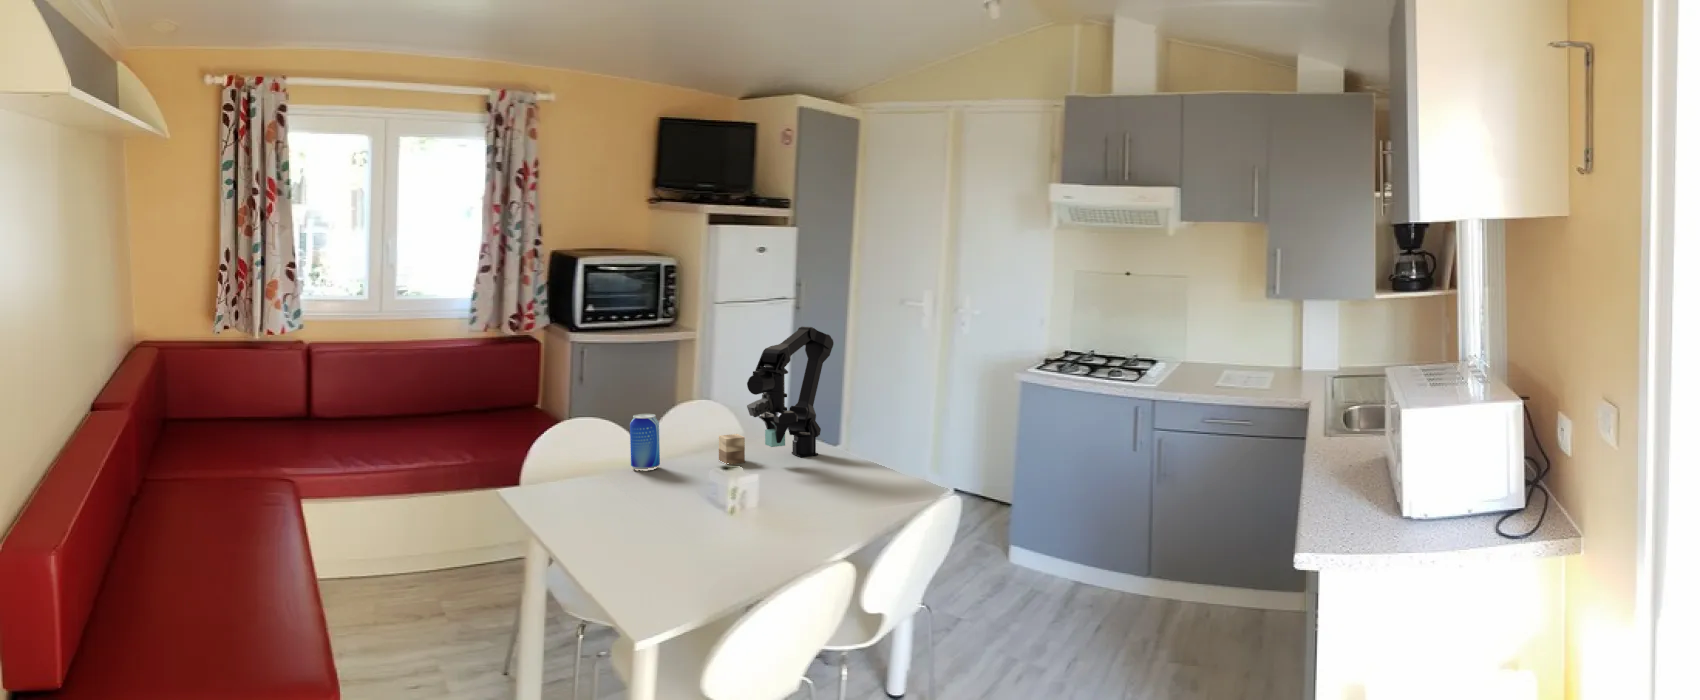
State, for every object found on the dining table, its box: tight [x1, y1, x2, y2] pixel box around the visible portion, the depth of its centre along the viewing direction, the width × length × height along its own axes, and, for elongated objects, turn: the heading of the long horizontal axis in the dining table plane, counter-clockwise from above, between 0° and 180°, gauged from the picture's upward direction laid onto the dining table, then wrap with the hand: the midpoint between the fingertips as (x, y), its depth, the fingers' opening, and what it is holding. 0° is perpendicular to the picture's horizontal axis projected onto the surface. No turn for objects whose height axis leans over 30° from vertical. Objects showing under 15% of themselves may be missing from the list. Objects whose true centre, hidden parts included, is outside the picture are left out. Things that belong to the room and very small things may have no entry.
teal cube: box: [764, 428, 786, 448], centre depth 308 cm, size 4×4×4 cm
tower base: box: [718, 448, 746, 465], centre depth 313 cm, size 6×6×4 cm
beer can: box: [629, 413, 661, 470], centre depth 303 cm, size 8×8×16 cm
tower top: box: [718, 433, 746, 452], centre depth 312 cm, size 6×6×4 cm
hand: (775, 441), depth 308 cm, fingers closed on teal cube, 4 cm apart
